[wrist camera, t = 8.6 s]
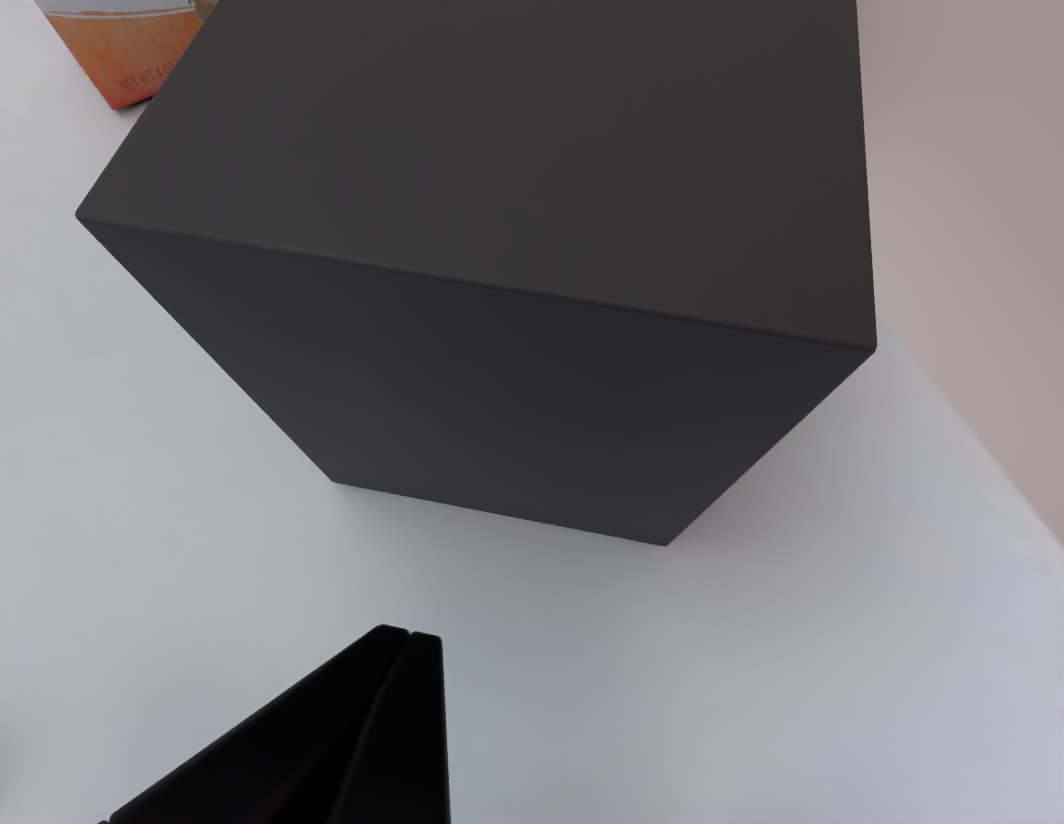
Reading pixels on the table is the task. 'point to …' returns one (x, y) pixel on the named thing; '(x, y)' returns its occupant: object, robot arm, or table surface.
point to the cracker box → (126, 41)
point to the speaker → (513, 239)
